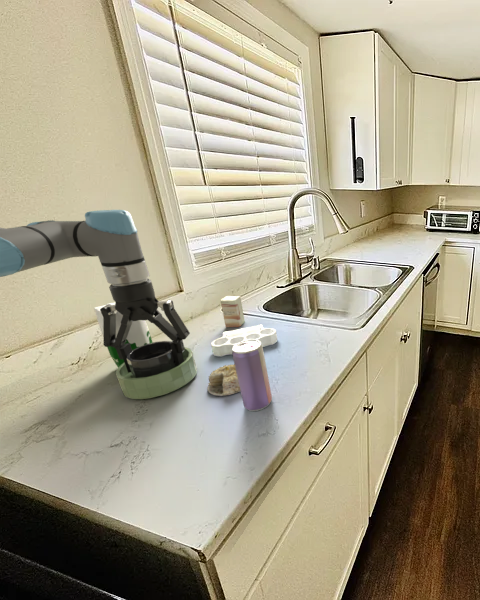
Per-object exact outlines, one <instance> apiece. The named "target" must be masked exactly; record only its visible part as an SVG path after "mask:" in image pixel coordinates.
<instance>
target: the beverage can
mask: <svg viewBox="0 0 480 600" xmlns="http://www.w3.org/2000/svg"><path fill="white" fill-rule="evenodd" d="M232 350H233V352H232V359H233V365H234V364H235V368H236V373H237V377H238V382H239V386H240V393H241V394H240V396H241V399H242V404H243V408H245V409H246V410H247V411H250V412H258V411H263V410H265V409H266V408H267V407H268V406H269V405H270V404H271V402H272V400H273V395H272V391H271V385H270V379H269V374H268V369H267V363H266V357H265V353H264V347H262V345H261V342H260V341H258V340H245V341H242V342H239V343H237V344H236V345H234V346H233V348H232Z"/></svg>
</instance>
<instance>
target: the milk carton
mask: <svg viewBox="0 0 480 600" xmlns="http://www.w3.org/2000/svg"><path fill="white" fill-rule="evenodd" d="M108 304H111V305H115V301H114V302H109V303H106V304H103V305H99V306H94V307H93V310H94V313H95V316H96V320H97V323H98V327H99V330H100V332H101V335H102V337H103V338H104V331H103V315H102V313H101V311H100V309H101V308H103V307H104V306H106V305H108ZM122 317H123V315H122V314H121V313H119V312H118V311H117V312H116V337H117V334H118V331H119V328H120V325H121V320H122ZM148 326H149V325H148V324H147V320H138V321H133V322H132V325H131V327H130V330H129V333H128V336H127V338H126V342H125V343H124V344H126V343H130V346H131V349H132V350H134V349H136V348H138V347H140V346H143V345H146V344H149V343H153V342H154V341H153V339H152V336H151V333H150V330H149V327H148ZM106 348H107V351H108V353H109V355H110V357H111V359H112V360H113V362H114V363H115V366H116V367H117V368H118V367H119V366H120V365H122V364H123V363H124V360H123V359H120V358H119V356H118V353H117V351H116V348H114V347H111V346H109V347H106Z"/></svg>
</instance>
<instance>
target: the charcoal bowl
mask: <svg viewBox="0 0 480 600" xmlns="http://www.w3.org/2000/svg"><path fill="white" fill-rule="evenodd" d="M152 342H153V343H149V344H146V345H143V346H140V347H138V348H136V349H134V350H132V351H131V352H130V353H129V354H128V355H127V361H128V364H129V367H130V370H131V373H132V376H133V377H135V378H143V377H149V376H153V375H157V374H160V373H163V372H166V371H169V370H171V369H173V368H175V367H177V366H176V363H175V359H174V356H173V352H172V349H171V346H170V343H171V342H172V340H171V341H170V340H161V341H160V340H159V341H152Z"/></svg>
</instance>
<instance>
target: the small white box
mask: <svg viewBox="0 0 480 600" xmlns="http://www.w3.org/2000/svg"><path fill="white" fill-rule="evenodd" d="M220 305H221V310H222V311H221V312H222V316H223V320H224V325H225V327H226V328H239V327H240V328H241V326H243V324H245V323H246V321H245V315H244V310H243V309H244V308H243V303H242V297H241V295H226V296H224V297H223V298H221V299H220Z"/></svg>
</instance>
